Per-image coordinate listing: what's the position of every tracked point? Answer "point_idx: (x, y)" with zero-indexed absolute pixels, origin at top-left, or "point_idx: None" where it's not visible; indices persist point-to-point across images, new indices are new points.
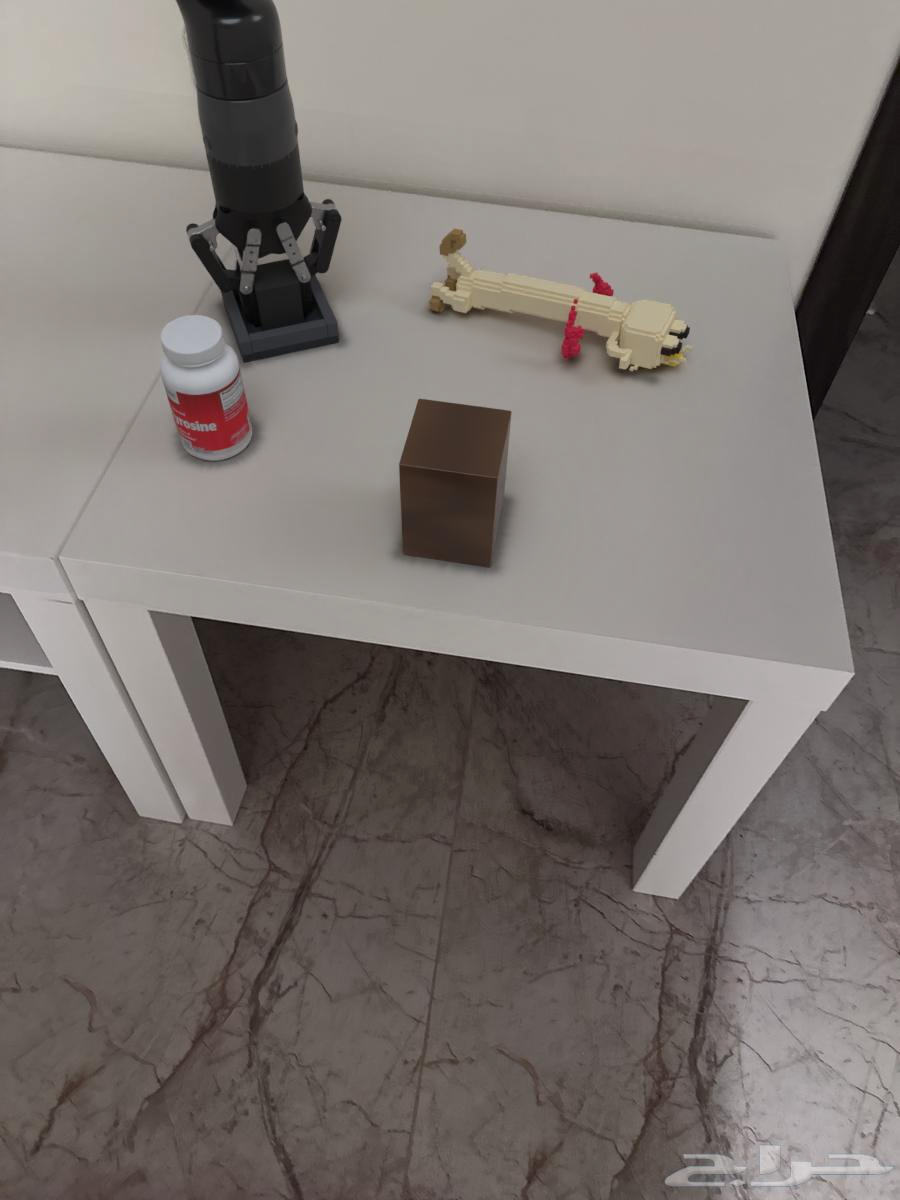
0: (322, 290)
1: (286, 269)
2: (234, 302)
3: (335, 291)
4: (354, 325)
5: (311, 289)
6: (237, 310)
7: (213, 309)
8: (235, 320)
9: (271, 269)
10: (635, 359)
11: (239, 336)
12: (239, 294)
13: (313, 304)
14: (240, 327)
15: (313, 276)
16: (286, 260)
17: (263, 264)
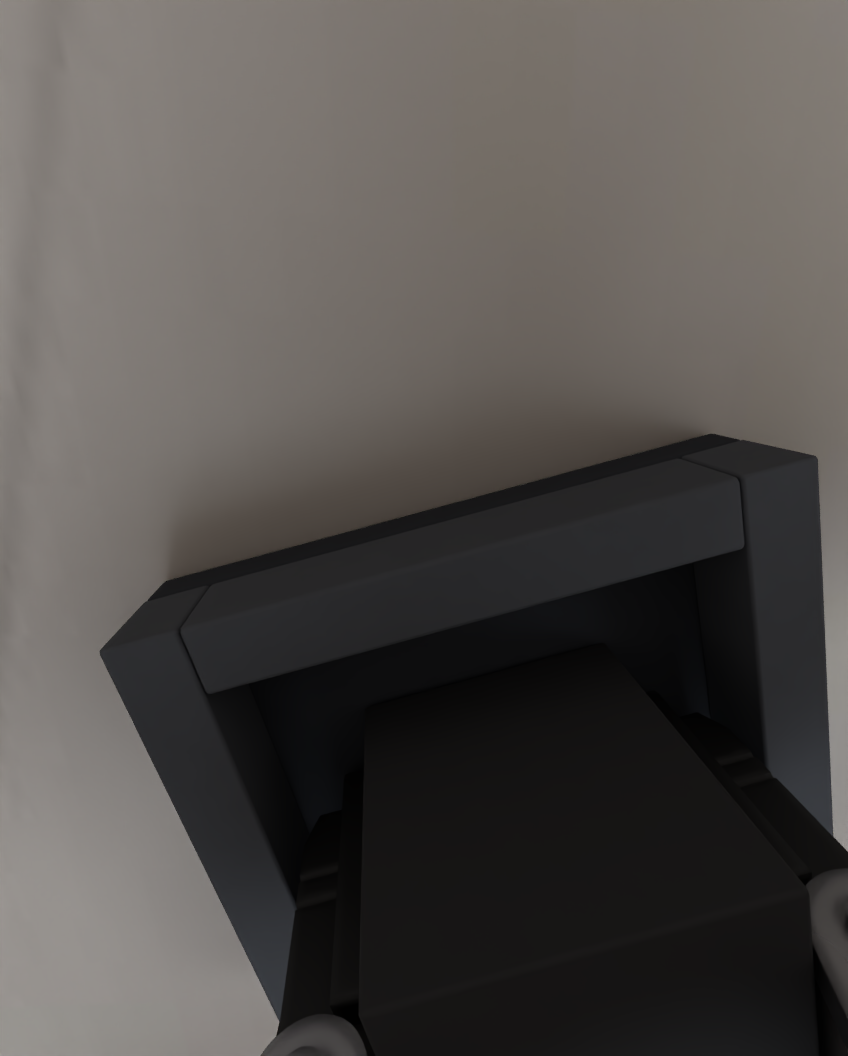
0: (828, 726)
1: (755, 1030)
2: (248, 836)
3: (820, 479)
4: (844, 749)
5: (762, 713)
6: (279, 902)
7: (106, 614)
8: (278, 978)
9: (614, 1047)
10: None
11: None
12: (290, 953)
13: (703, 677)
14: None
15: (805, 579)
16: (783, 919)
17: (537, 979)
